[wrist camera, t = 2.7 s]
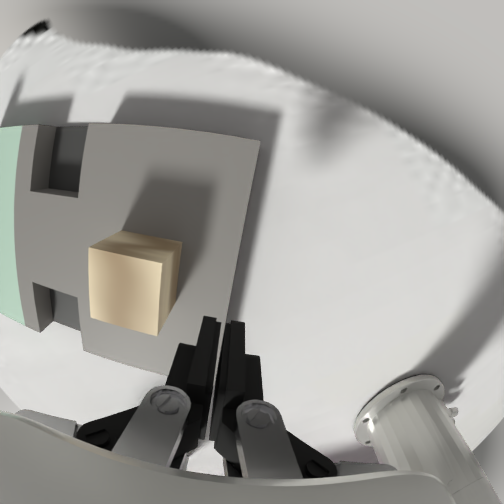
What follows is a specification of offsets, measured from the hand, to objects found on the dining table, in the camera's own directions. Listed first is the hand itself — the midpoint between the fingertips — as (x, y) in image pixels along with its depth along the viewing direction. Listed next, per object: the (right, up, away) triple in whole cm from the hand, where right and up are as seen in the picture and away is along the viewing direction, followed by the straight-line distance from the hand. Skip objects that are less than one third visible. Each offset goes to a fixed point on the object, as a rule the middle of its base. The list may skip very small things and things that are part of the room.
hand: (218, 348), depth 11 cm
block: (-6, +3, +8) cm, 10 cm away
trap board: (-14, +5, +10) cm, 18 cm away
